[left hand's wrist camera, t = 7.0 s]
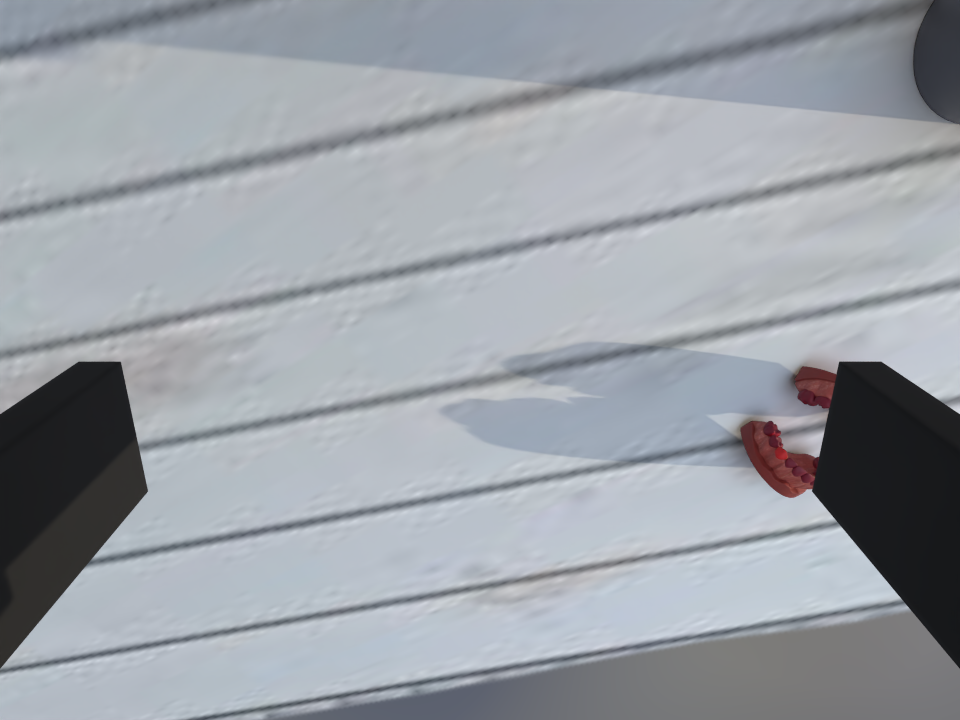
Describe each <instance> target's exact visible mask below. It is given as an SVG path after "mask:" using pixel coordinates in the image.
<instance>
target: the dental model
mask: <svg viewBox="0 0 960 720" xmlns="http://www.w3.org/2000/svg"><path fill="white" fill-rule="evenodd" d="M794 380H795V381H796V382H795V385H796V387H797V389H798V391H799V394H798V399H799V400H801V401H802V402H803V403H804V404H808V405H810V406H816V405H817V404H818V405H819V406H822V408H830V404H831V399H832V394H833V389H834V385H835V380H836V374H834V373H831V372H828V371H825V370H821V369H817V368H812V367H804V366H803V367H802V368H801V370H800V371H799V373H798V375H797V376H796V378H795V379H794ZM780 434H781V432H780V431H779V430H778V428H777V425H776V424H774V423H773V422H772V421H769V422H760V421H751V422H749V423H748V424H746V425H745V426H743V427H741V436H742V440H743V443H744V446H745V449H746V451H747V454H748V456H749V458H750V460H751V462H752V463H753V465H754V467H755V468H756V470H757V471H758V473H759V474H760V475H761V477H762V478H763V479H764V480H765V481H766V482H767V483H768V485H769V486H771V487H772V488H773V489H774V490H775V491H777V492H778V493H780V494H781V495H783V496H785V497H789V498H794V497H796V496H798V495H800V494H802V493H804V492H805V491H806V489H813V485H814V480H815V475H816V470H817V465H818V461H819V457H816V458H815V457H813V456H811V455H808V454H792V453H788V452H786V451H785V450H784V449H783V448H782V447H783V444H782V440H781V438H779V437H778V436H780Z"/></svg>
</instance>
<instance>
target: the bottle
mask: <svg viewBox="0 0 960 720" xmlns="http://www.w3.org/2000/svg"><path fill="white" fill-rule="evenodd" d="M914 72H915V78H916V82H917V86H918V88H919V91H920V93H921V95H922V97H923V99H924V100H925V102H926V103H927V104H928V105H929V107H930V108H931V109H932V110H933V111H934V112H936V113H937V114H938V115H939V116H941V117H943V118H944V119H946V120H949V121H951V122H954V123H957V124H960V0H935V1H934V2H933V4H932V6H931V7H930V9H929V10H928V12H927V14H926V16H925V18H924V20H923V22H922V25H921V27H920V30H919V33H918V37H917V40H916V45H915V51H914Z"/></svg>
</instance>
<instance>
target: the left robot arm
mask: <svg viewBox="0 0 960 720" xmlns="http://www.w3.org/2000/svg"><path fill="white" fill-rule="evenodd" d="M147 492H148V489H147V485H146V480H145V475H144V470H143V465H142V461H141V456H140V451H139V446H138V442H137V437H136V432H135V427H134V423H133V418H132V413H131V408H130V404H129V399H128V394H127V389H126V385H125V380H124V375H123V370H122V365H121V362H78V363H76V364H75V365H73V366H72V367H70V368H69V369H67V370H66V371H64V372H63V373H61V374H60V375H58V376H57V377H55V378H54V379H52V380H51V381H49V382H48V383H46V384H45V385H43V386H42V387H40V388H39V389H37V390H36V391H34V392H33V393H31V394H30V395H28V396H27V397H25V398H24V399H22V400H21V401H19V402H18V403H16V404H15V405H13V406H12V407H10V408H9V409H7V410H6V411H4V412H3V413H1V414H0V668H1V667H2V666H3V665H4V663H5V662H6V661H7V660H8V659H9V657H10V656H11V655H12V654H13V653H14V651H15V650H16V649H17V648H18V647H19V645H20V644H21V643H22V642H23V641H24V639H25V638H26V637H27V636H28V635H29V633H30V632H31V631H32V630H33V629H34V627H35V626H36V625H37V624H38V623H39V621H40V620H41V619H42V618H43V617H44V615H45V614H46V613H47V612H48V611H49V609H50V608H51V607H52V606H53V605H54V603H55V602H56V601H57V600H58V599H59V597H60V596H61V595H62V594H63V593H64V591H65V590H66V589H67V588H68V587H69V585H70V584H71V583H72V582H73V581H74V579H75V578H76V577H77V576H78V575H79V573H80V572H81V571H82V570H83V569H84V567H85V566H86V565H87V564H88V563H89V561H90V560H91V559H92V558H93V557H94V555H95V554H96V553H97V552H98V551H99V549H100V548H101V547H102V546H103V545H104V543H105V542H106V541H107V540H108V539H109V537H110V536H111V535H112V534H113V533H114V531H115V530H116V529H117V528H118V527H119V525H120V524H121V523H122V522H123V521H124V519H125V518H126V517H127V516H128V515H129V513H130V512H131V511H132V510H133V509H134V507H135V506H136V505H137V504H138V503H139V501H140V500H141V499H142V498H143V497H144V495H145V494H146V493H147ZM812 492H813V493H814V494H815V495H816V497H817V498H818V499H819V500H820V501H821V503H822V504H823V505H824V506H825V507H826V509H827V510H828V511H829V512H830V513H831V515H832V516H833V517H834V518H835V519H836V521H837V522H838V523H839V524H840V525H841V527H842V528H843V529H844V530H845V531H846V533H847V534H848V535H849V536H850V537H851V539H852V540H853V541H854V542H855V543H856V545H857V546H858V547H859V548H860V549H861V551H862V552H863V553H864V554H865V555H866V557H867V558H868V559H869V560H870V561H871V563H872V564H873V565H874V566H875V567H876V569H877V570H878V571H879V572H880V573H881V575H882V576H883V577H884V578H885V579H886V581H887V582H888V583H889V584H890V585H891V587H892V588H893V589H894V590H895V591H896V593H897V594H898V595H899V596H900V597H901V599H902V600H903V601H904V602H905V603H906V605H907V606H908V607H909V608H910V609H911V611H912V612H913V613H914V614H915V615H916V617H917V618H918V619H919V620H920V621H921V623H922V624H923V625H924V626H925V627H926V629H927V630H928V631H929V632H930V633H931V635H932V636H933V637H934V638H935V639H936V641H937V642H938V643H939V644H940V645H941V647H942V648H943V649H944V650H945V651H946V653H947V654H948V655H949V656H950V657H951V659H952V660H953V661H954V662H955V663H956V665H957V666H958V667H959V668H960V414H959V413H957V412H956V411H954V410H953V409H951V408H950V407H948V406H947V405H945V404H944V403H942V402H941V401H939V400H938V399H936V398H935V397H933V396H932V395H930V394H929V393H927V392H926V391H924V390H923V389H921V388H920V387H918V386H917V385H915V384H914V383H912V382H911V381H909V380H908V379H906V378H905V377H903V376H902V375H900V374H899V373H897V372H896V371H894V370H893V369H891V368H890V367H888V366H887V365H885V364H884V363H882V362H839V365H838V370H837V375H836V380H835V385H834V389H833V394H832V399H831V404H830V408H829V413H828V418H827V423H826V427H825V432H824V437H823V442H822V446H821V451H820V456H819V461H818V465H817V470H816V475H815V480H814V485H813V489H812Z"/></svg>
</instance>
